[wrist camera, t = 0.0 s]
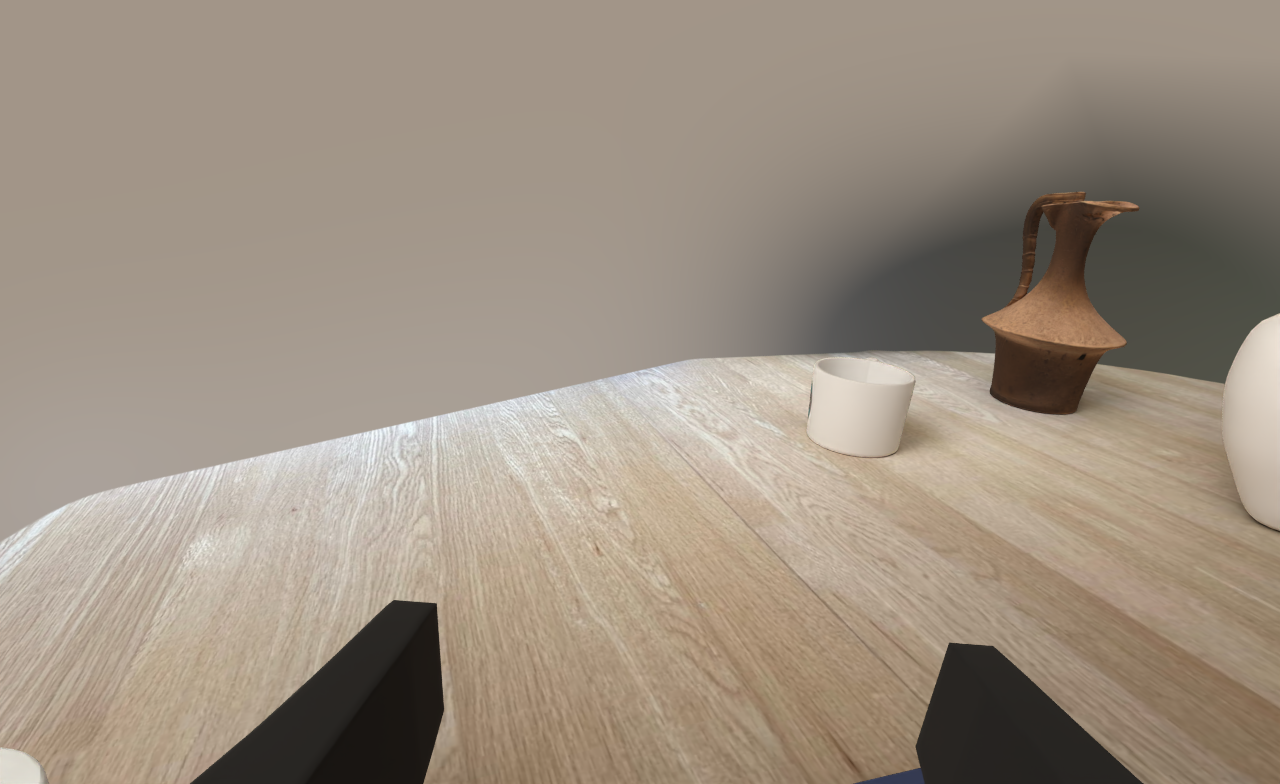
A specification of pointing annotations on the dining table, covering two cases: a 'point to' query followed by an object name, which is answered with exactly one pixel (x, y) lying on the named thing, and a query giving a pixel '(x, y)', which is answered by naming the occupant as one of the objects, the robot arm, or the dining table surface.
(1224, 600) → the dining table surface
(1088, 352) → the pitcher
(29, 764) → the pill bottle
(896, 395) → the mug
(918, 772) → the tray
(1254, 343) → the vase
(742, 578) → the dining table surface
